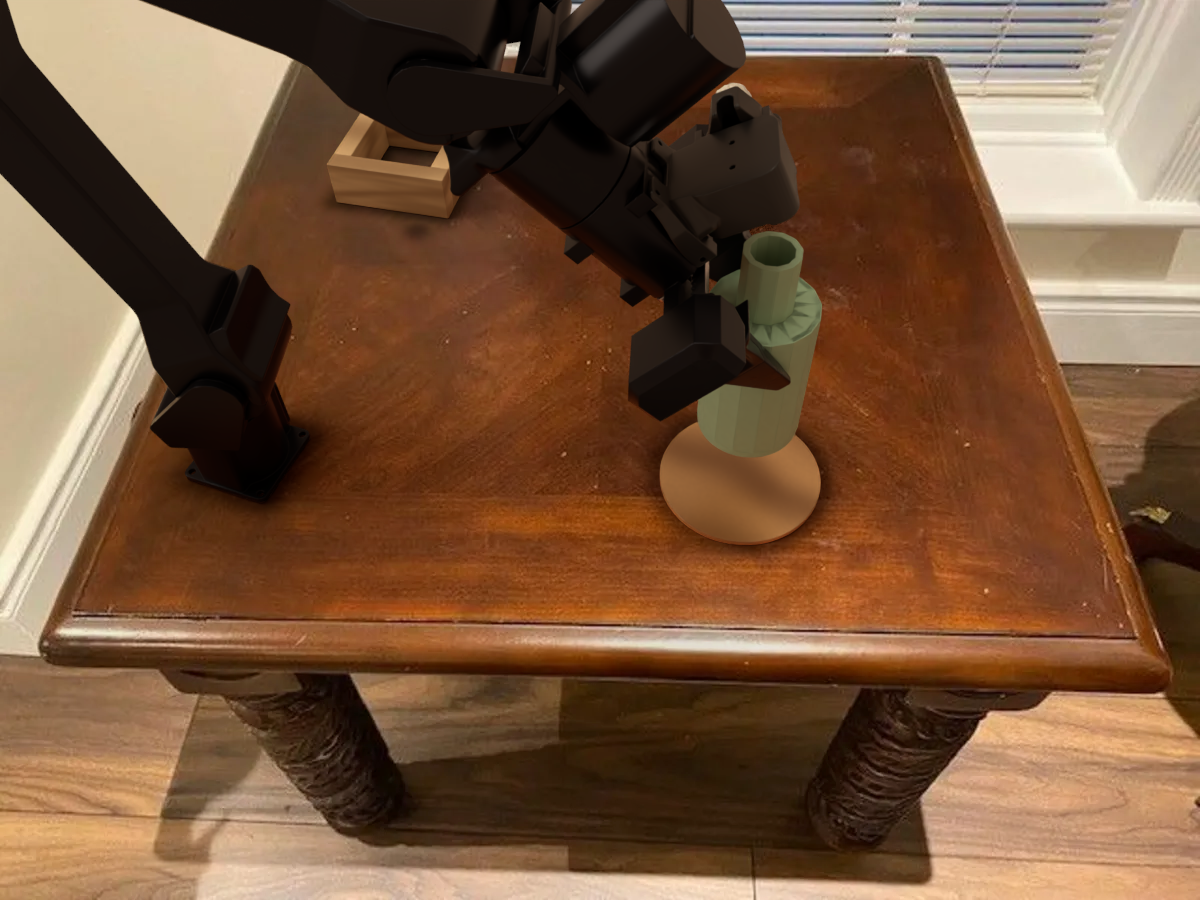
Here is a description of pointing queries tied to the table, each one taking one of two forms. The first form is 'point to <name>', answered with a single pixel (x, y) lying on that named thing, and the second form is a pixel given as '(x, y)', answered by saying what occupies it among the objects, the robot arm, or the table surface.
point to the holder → (389, 173)
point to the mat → (738, 489)
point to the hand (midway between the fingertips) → (781, 342)
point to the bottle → (784, 329)
